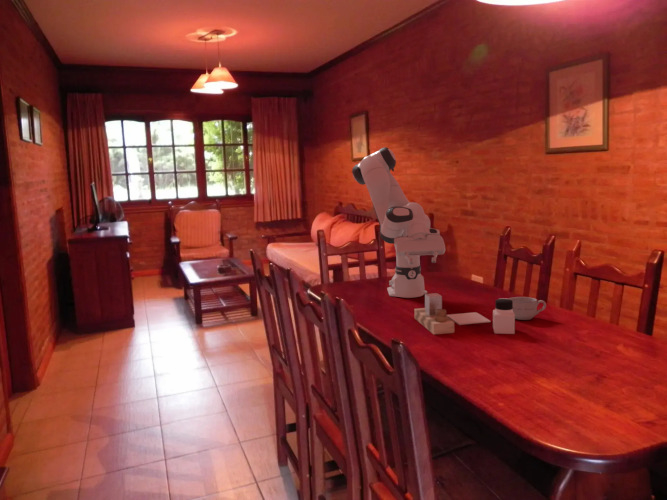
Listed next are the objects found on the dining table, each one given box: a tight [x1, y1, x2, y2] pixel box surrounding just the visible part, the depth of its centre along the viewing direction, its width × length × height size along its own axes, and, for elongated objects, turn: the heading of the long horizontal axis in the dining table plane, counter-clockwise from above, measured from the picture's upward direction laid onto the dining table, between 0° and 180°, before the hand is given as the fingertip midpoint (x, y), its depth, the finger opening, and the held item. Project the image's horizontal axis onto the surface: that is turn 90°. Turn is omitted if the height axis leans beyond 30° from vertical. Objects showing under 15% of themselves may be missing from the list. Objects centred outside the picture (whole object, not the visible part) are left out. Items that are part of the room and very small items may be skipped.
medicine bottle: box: [492, 297, 516, 335], centre depth 196 cm, size 7×7×12 cm
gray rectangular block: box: [424, 292, 443, 317], centre depth 206 cm, size 5×5×8 cm
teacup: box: [508, 296, 547, 321], centre depth 211 cm, size 14×11×8 cm
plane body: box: [413, 307, 455, 335], centre depth 207 cm, size 22×8×8 cm, turn 10°
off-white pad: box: [446, 311, 491, 326], centre depth 214 cm, size 13×13×1 cm
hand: (422, 262), depth 216 cm, fingers open, 8 cm apart
